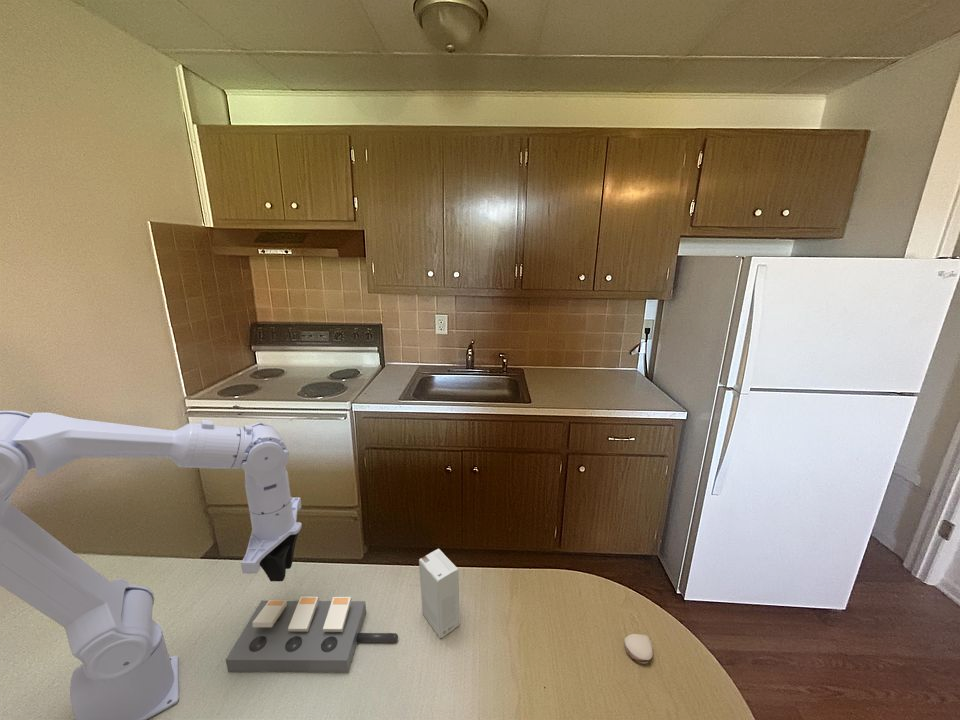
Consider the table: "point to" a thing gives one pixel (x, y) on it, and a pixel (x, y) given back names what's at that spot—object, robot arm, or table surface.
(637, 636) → the white rounded oval piece
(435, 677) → the table surface
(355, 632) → the power strip
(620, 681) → the table surface
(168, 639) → the table surface
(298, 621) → the rocker
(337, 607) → the rocker
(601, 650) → the table surface
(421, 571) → the skincare box
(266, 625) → the white rectangular block
